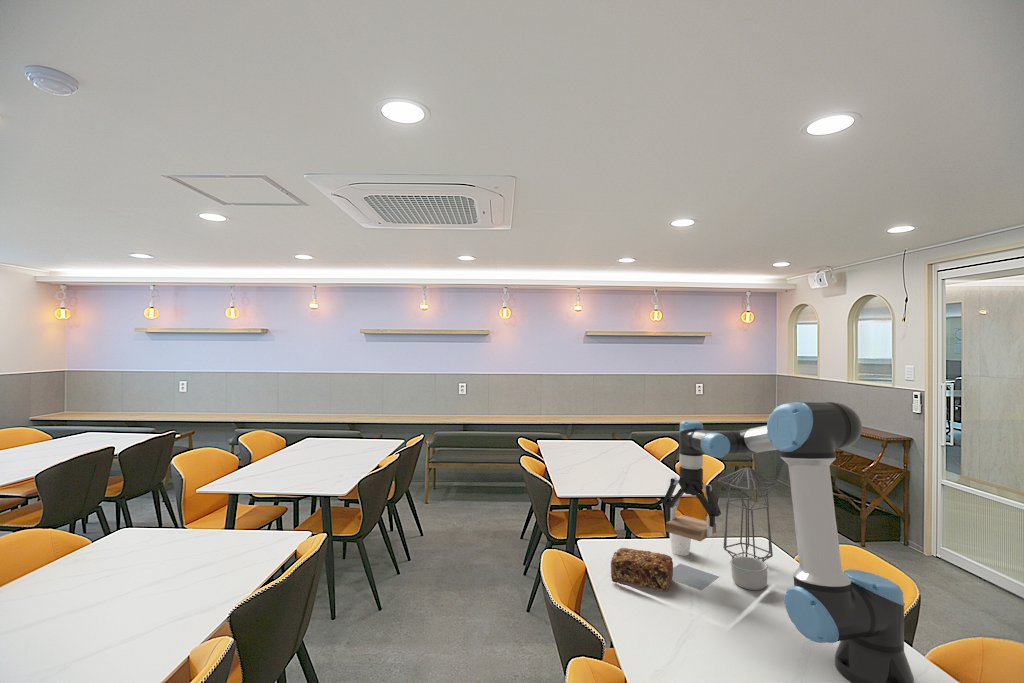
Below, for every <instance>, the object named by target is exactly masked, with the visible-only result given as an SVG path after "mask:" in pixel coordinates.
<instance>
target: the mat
mask: <svg viewBox="0 0 1024 683" xmlns="http://www.w3.org/2000/svg"><path fill="white" fill-rule="evenodd" d="M718 578H720V576H718V575H716V574H713V573H710V572H706V571H704V570H700V569H697V568H694V567H692V566H688V565H686V564H682V563H679V564H678V565H675V566H673V577H672V581H674V582H675V583H676V582H678V583H680V584H683V585H685V586H688V587H691V588H693V589H695V590H699V591H702V590H704V589H705V588H706V587H708V586H709V585H710V584H712V583H713V582H714V581H716V580H717V579H718Z"/></svg>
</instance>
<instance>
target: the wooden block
mask: <svg viewBox="0 0 1024 683" xmlns="http://www.w3.org/2000/svg"><path fill="white" fill-rule="evenodd" d="M665 532H666V533H669V534H670V533H672V534H676V535H679V536H683V537H686V538H690V539H691V540H694V541H697V542H703V541H704V540H705V539H707V538H708V537H707V520H704V519H700V518H696V517H693V516H688V515H684V514H681V515H679V516H676V518H675V519H673V520H669V521H666V522H665ZM716 533H717V523H716V522H715V526H714V527H712V535H714V534H716Z"/></svg>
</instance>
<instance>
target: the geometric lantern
mask: <svg viewBox="0 0 1024 683" xmlns="http://www.w3.org/2000/svg"><path fill="white" fill-rule="evenodd" d="M733 475H734V476H733ZM731 476H732V477H731ZM750 476H751V477H750ZM729 477H730V478H729ZM727 478H729V479H727ZM743 478H745V479H746V480H747V487H744V486H740V484H741V482H742V479H743ZM761 478H762V479H761ZM763 479H764V480H766V481H763ZM717 481H718V482H719V484H721V486H722V487H723V488H724V489H725V490H726V491H727V492H728V494H727V500H726V504H725V505H726V507H725V525H724V534H723V535H724V537H723V550H724V551H726V552H727V553H728V554H729V555H730V556H731V557H732V558H731V560H732V559H733V558H735V557H736V555H741V556H742V557H748V555H750V556H751V557H753V558H755V559H759V560H761V561H763V562H764V563H765V561H766V560H768V559H771V558H772V557H773V544H772V534H771V532H772V531H771V524H770V523H771V522H770V511H769V510H770V509H769V508H770V505H769V497H768V496H769V494H770V493H771V492H773V490H774V489H775V488H777V487H779V486H780V485H779V484H778V483H776V482H774V481H773V480H772V479H770V478H768V477H767V476H765V475H763V474H762V473H761V472H758V471H757V470H755V469H754V468H752V467H749V466H748V467H747V466H745V467H743V468H741V469H738V470H736V471H734V472H732V473H730V474H727V475H726V476H722V477H720V478H718V480H717ZM751 485H752V486H753V487H754V488H752V486H751ZM760 485H761V486H762V487H760ZM767 485H769V486H767ZM731 488H732V489H735V492H734V491H732V489H731ZM739 489H741V491H739ZM742 489H743V490H742ZM769 489H770V490H769ZM750 490H751V491H752V493H751V494H750V495H749V497H748V498H744V497H743V495H742V493H745V492H748V491H750ZM757 490H758V491H759V492H760V494H759V493H758V491H757ZM765 491H766V493H765ZM764 493H765V494H764ZM754 494H756V495H757V496H758V497H757V499H756V500H754V499H751V498H752V497H753V496H754ZM731 495H736V496H738V497H739V498H736V499H730V498H731ZM762 498H764V500H765V503H763V502H760V501H759V499H762ZM739 500H740V501H741V505H738V504H734V503H732V502H735V501H739ZM744 501H747V505H746V503H745V502H744ZM750 502H754V503H753V505H752V506H751V508H750ZM756 504H761V505H764V507H758V508H754V506H755V505H756ZM729 505H732V506H735V507H738V508H741V516H740V517H741V520H740V536H739V538H740V539H739V542H737V543H734V544H730V545H727V543H728V542H727V540H728V538H727V537H728V518H729V517H728V514H729ZM762 509H766V515H767V533H768V534H767V535H768V536H767V537H768V538H767V540H768V550H766V549H764V548H761V547H758V546H756V542H755V541H756V540H755V529H754V527H755V526H754V511H757V510H758V511H759V510H762ZM744 510H745V542H743V541H742V540H743V526H744V525H743V524H744V522H743V520H744ZM750 515H751V517H750ZM750 518H751V530H752V531H751V532H752V544H750ZM738 545H740V547H741V551H742V552H740V553H735V552H733V551H730V550H729V549H727V548H731V547H734V546H738ZM743 545H745V550H744V548H743V547H744V546H743ZM749 546H750V547H752V548H753V550H752V551H753V554H751V553H749V552H748V549H749ZM756 549H757V550H760V551H763V552H766V553H767V554H766V555H764V556H761V557H760V556H757V555H756ZM744 554H745V555H744Z"/></svg>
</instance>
